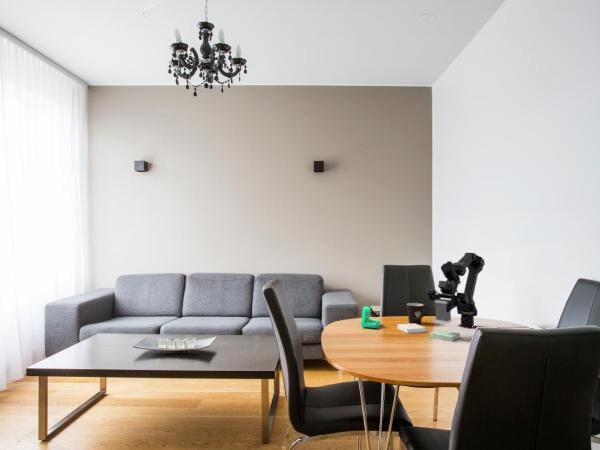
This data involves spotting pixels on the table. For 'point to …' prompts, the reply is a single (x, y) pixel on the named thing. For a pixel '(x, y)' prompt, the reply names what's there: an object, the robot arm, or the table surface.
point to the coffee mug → (415, 312)
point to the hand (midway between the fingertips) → (442, 311)
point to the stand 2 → (445, 335)
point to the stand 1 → (411, 328)
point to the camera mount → (366, 321)
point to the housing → (442, 311)
